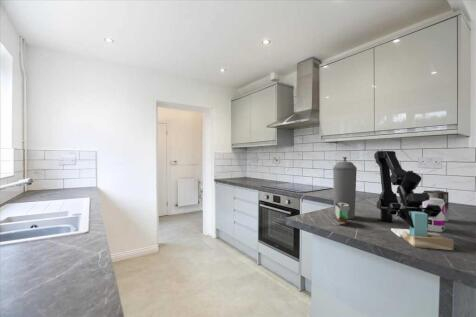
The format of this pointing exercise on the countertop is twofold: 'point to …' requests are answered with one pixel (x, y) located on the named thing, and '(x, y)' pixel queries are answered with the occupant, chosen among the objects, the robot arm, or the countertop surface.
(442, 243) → the oak rack
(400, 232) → the white pad
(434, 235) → the offcut top
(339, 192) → the canister
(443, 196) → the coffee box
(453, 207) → the countertop surface
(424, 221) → the teal rectangular block
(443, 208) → the supplement can
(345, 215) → the food container
